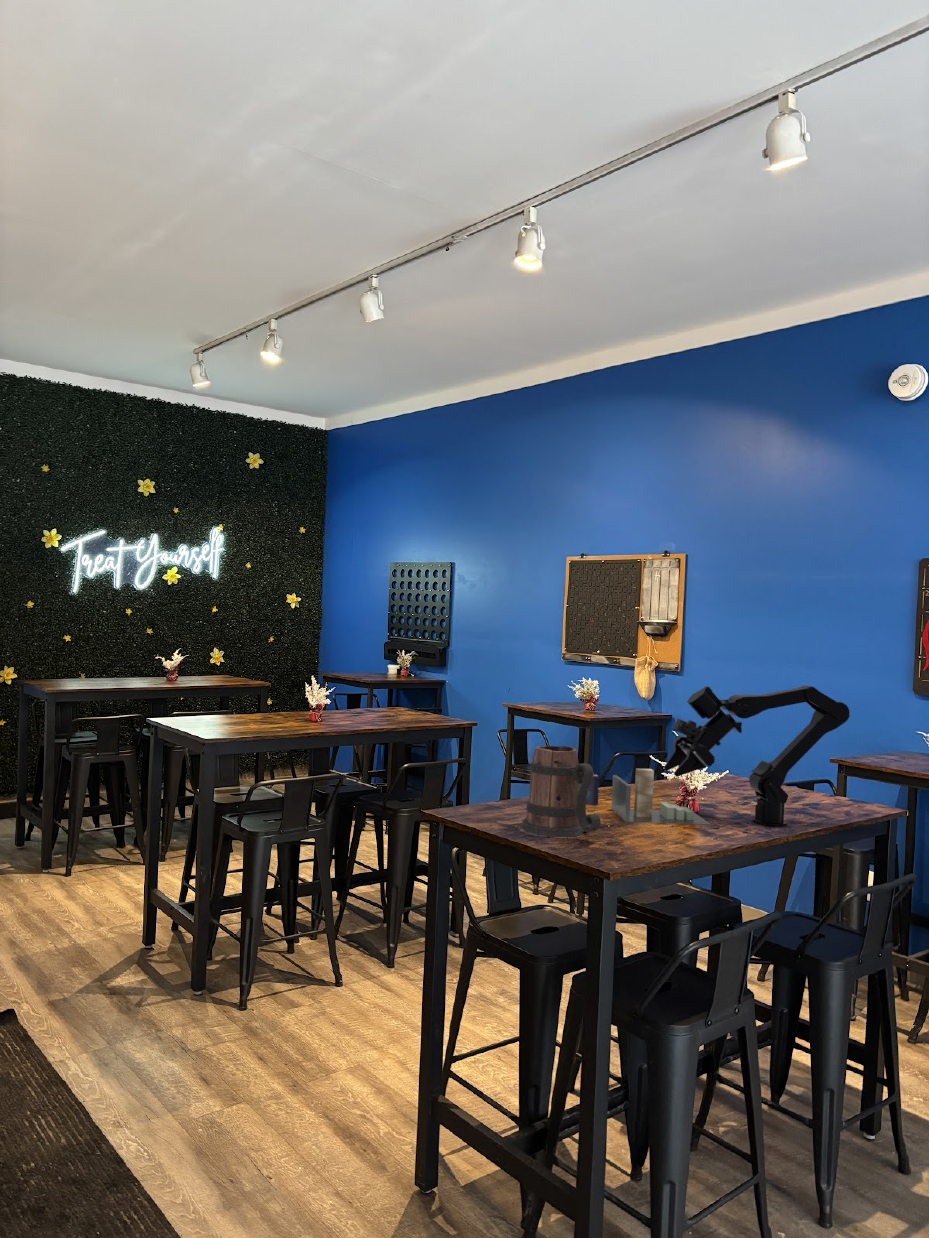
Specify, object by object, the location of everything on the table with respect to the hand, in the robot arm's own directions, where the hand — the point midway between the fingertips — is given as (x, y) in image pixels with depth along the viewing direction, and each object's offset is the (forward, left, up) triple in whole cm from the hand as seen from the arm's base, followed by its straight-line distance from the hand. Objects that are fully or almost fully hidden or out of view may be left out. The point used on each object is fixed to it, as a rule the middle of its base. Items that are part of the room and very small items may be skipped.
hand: (669, 772), depth 242 cm
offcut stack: (-2, +1, -11) cm, 12 cm away
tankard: (+35, +10, -13) cm, 38 cm away
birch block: (+6, -2, -11) cm, 13 cm away
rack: (+2, -1, -12) cm, 13 cm away
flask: (+16, -20, -13) cm, 28 cm away
